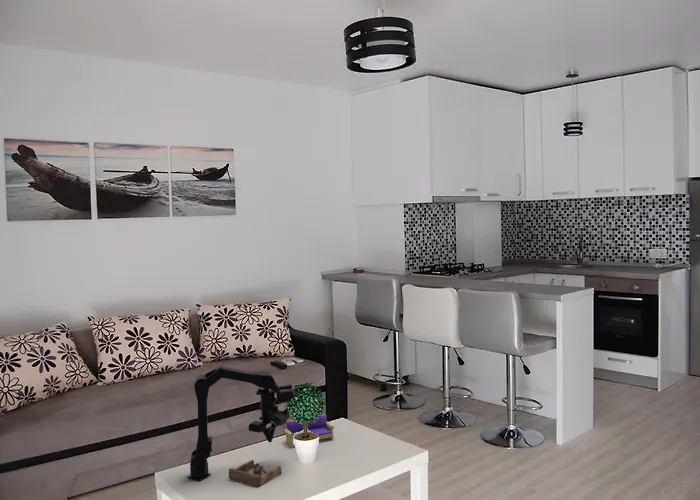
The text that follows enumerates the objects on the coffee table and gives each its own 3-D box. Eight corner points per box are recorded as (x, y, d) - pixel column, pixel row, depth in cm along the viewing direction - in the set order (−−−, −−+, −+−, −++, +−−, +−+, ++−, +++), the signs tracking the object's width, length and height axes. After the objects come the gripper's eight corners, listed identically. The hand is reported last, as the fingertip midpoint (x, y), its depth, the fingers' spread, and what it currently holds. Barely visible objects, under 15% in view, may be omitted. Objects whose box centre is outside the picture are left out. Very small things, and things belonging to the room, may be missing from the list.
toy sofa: (290, 449, 268) (289, 426, 268) (284, 442, 276) (283, 420, 276) (334, 440, 277) (333, 418, 276) (327, 434, 285) (326, 413, 284)
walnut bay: (258, 487, 231) (258, 477, 230) (229, 479, 239) (228, 469, 238) (281, 474, 242) (280, 464, 242) (252, 467, 250) (251, 457, 250)
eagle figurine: (243, 474, 241) (248, 478, 233) (251, 456, 243) (257, 460, 235) (260, 481, 243) (266, 486, 235) (268, 464, 245) (274, 467, 237)
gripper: (268, 413, 235) (270, 453, 236) (298, 399, 250) (300, 437, 251) (246, 409, 241) (248, 448, 242) (276, 396, 256) (278, 433, 257)
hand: (270, 442), depth 248 cm, fingers closed
